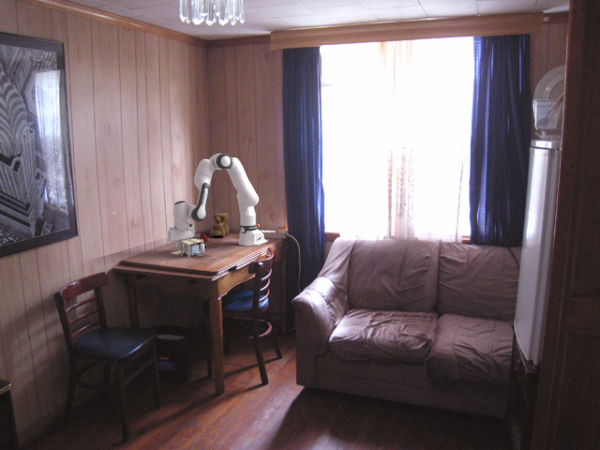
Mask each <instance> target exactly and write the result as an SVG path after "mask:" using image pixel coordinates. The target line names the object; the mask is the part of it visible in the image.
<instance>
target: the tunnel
mask: <svg viewBox="0 0 600 450" xmlns="http://www.w3.org/2000/svg"><path fill="white" fill-rule="evenodd" d="M198 242H201V244H203V240H201V239H196V238H195V239H193V238H189V240H186V239H184V241H181V242H180V241H179V251H180V254H179V256H180V257H183V256H184V253H183V244H184V245H185V244H187V254H186V256H187V259H189V257H190V258H191V255H190V244H196V243H198ZM196 245H197V244H196Z"/></svg>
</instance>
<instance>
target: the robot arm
mask: <svg viewBox="0 0 600 450" xmlns="http://www.w3.org/2000/svg"><path fill="white" fill-rule="evenodd" d="M222 170H226V172H227V173H228V176H229V178H230V180H231V182H232V185H233V187H234V188H235V190H236V191H237V194H236V199H237V203H238V209H239V217H240V218H239V220H240V221H239V223H240V224H239V230H240V231H239V238H238V241H237V243H238V245H240V246H248V247H249V246H260V245H263V244H265V243H267V242H269V241H268V240H267V239H265V235H264V232H262V231H260V229H258V228H260V224H259V223H258V224H257V220H256V219H257V214H256V211H255V207H254V206H256V205H258V204H259V202H260V201H259V200H260V198H259V195H258V193H256V190H255V189H254V186H253V185H252V183H251V182H250V179H248V176H247V173H246V171H245V168H244V167H243V164H242V163H241V161H240V160H239V159H238V158H237V157H231V156H230V155H229V154H227V153H215V154H214V153H213V154H212V155H211V156H210V157H209V158H204V159H203V158H202V159H201V160H200V162H199V164H198V166H197V168H196V171H195V174H194V177H193V178H194V179H193V182H194V186H195V187H196V188H197V189H198V191H199V195H198V198H197V199H198V200H197V203H196V205H194V204H191V203H188V202H187V201H185V200H179V201H176V202H174V203H173V210H172V211H173V212H172V213H173V214H172V215H173V217H174V219H173V227H172V226H170V227H169V228H168V230H167V241H168V242H170V243H172V242H173V243H174V246H175V247H174V248H180V243H179V244H178V241H180V240H190V239H193V237H194V235H195V233H196V231H195V228H194V227H195V224H194V223H192V222H189V221H188V220H191V221H194V222H197V223H200V222H203V221H205V219H206V218H207V216H208V211H207V210H208V209H207V208H208V207H207V206H208V202H209V196H210V192H211V191H210V190H211V181H212V178H213V174H214V172H215V171H222ZM185 245H187V244H184V246H185Z"/></svg>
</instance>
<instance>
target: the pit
mask: <svg viewBox="0 0 600 450" xmlns="http://www.w3.org/2000/svg"><path fill="white" fill-rule="evenodd" d="M211 256H212V257H213V255H212V254H206V253H205V255H198V256H197V255H196V256H194V259H196V258H197V260H204V259H207V257H208V258H211Z"/></svg>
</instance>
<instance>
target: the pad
mask: <svg viewBox="0 0 600 450" xmlns="http://www.w3.org/2000/svg"><path fill="white" fill-rule="evenodd" d="M171 254H174V255H180V250H177V251H173V252H171ZM183 254H185V253H184V252H183Z"/></svg>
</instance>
